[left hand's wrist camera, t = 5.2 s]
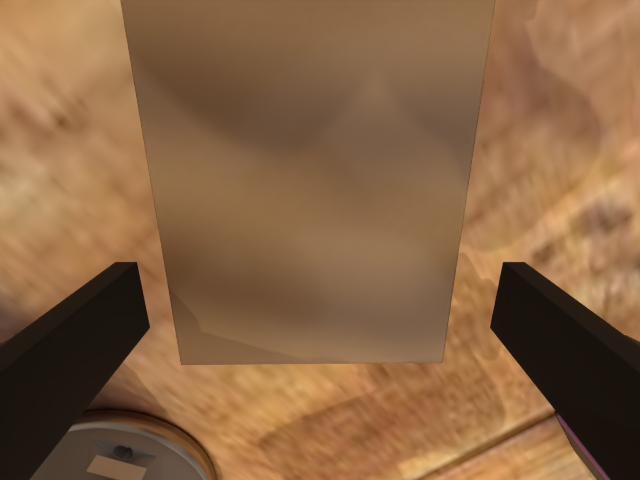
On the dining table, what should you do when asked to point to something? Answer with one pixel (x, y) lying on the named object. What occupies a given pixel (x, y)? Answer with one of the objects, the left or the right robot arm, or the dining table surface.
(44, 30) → the dining table surface
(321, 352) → the brown rectangular block
